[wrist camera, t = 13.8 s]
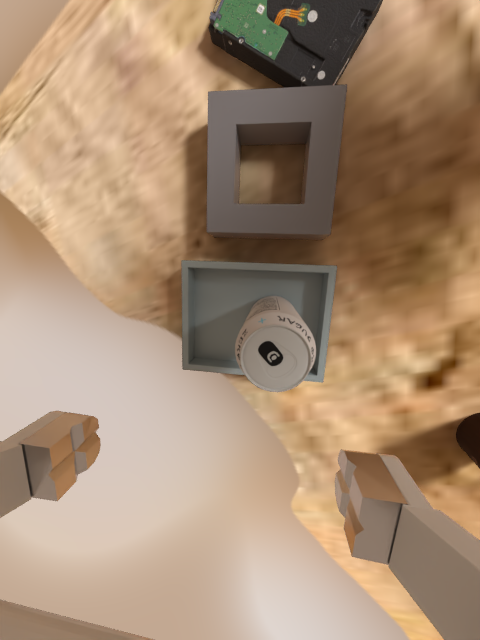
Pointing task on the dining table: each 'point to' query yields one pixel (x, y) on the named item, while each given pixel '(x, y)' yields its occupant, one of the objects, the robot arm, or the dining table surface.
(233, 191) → the socket block
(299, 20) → the disk drive
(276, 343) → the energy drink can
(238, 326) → the parts tray
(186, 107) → the dining table surface
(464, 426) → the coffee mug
